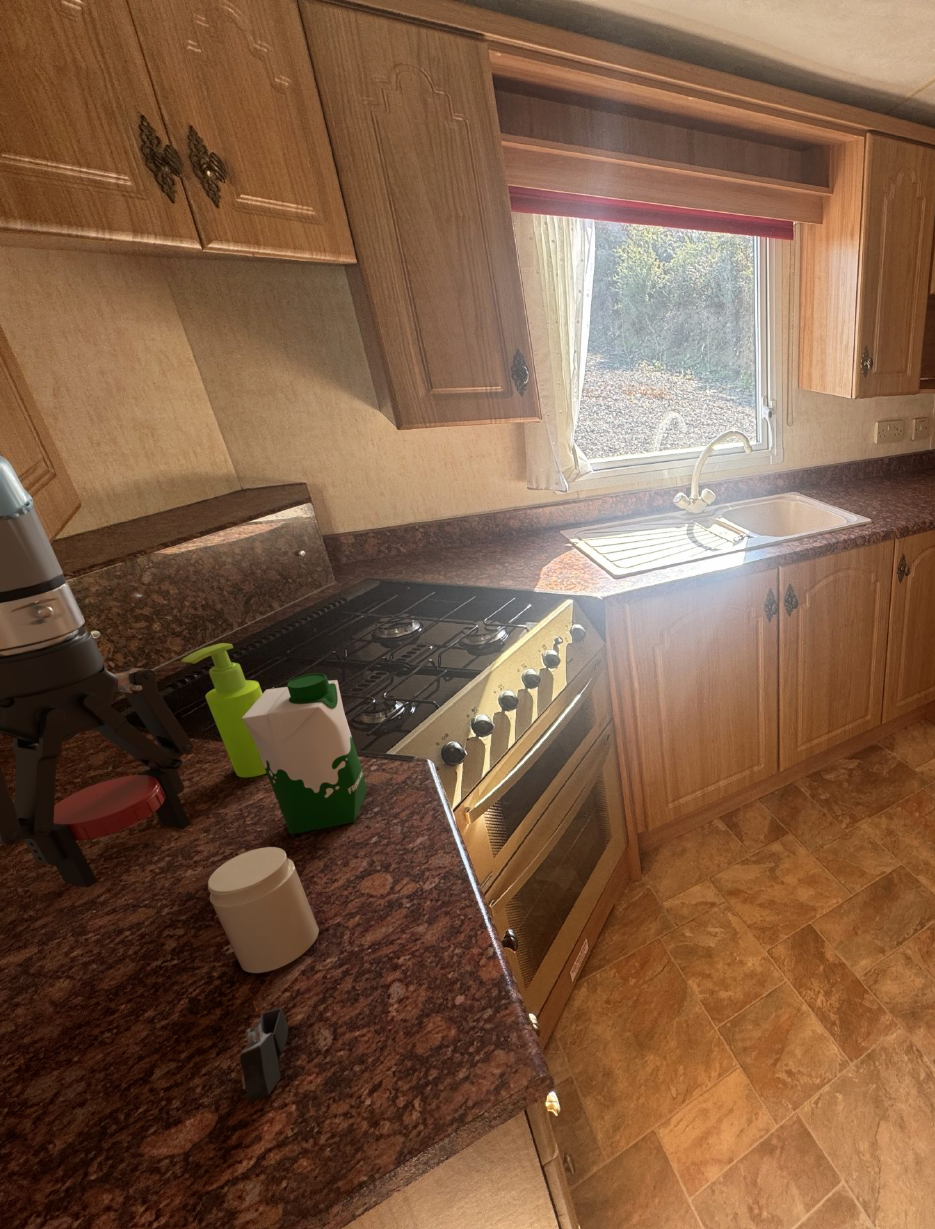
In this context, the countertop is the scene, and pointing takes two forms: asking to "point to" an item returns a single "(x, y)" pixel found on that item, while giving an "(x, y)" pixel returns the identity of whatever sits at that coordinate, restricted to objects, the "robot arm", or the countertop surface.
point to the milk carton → (308, 753)
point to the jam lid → (109, 806)
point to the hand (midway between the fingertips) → (131, 851)
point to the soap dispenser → (232, 708)
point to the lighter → (263, 1054)
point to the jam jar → (263, 909)
